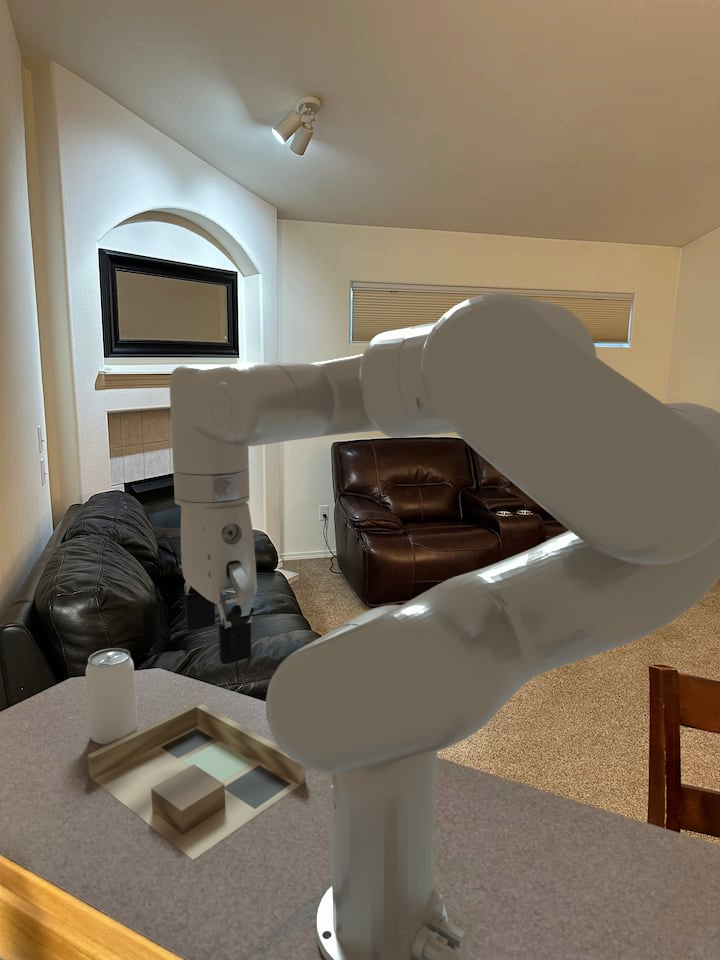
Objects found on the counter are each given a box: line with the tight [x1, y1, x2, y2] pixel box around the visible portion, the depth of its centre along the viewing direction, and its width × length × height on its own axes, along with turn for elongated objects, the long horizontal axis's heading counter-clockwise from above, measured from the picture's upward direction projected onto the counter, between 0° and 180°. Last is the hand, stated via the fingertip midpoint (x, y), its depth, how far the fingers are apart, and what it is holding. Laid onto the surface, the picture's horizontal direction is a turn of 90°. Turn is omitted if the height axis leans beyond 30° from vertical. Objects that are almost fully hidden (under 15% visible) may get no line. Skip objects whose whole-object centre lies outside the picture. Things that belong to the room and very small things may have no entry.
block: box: [151, 764, 225, 835], centre depth 76 cm, size 6×6×3 cm
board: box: [86, 701, 306, 861], centre depth 81 cm, size 22×17×4 cm
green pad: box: [182, 741, 254, 782], centre depth 85 cm, size 8×6×1 cm
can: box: [85, 647, 139, 746], centre depth 92 cm, size 6×6×12 cm
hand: (217, 642), depth 69 cm, fingers open, 9 cm apart
